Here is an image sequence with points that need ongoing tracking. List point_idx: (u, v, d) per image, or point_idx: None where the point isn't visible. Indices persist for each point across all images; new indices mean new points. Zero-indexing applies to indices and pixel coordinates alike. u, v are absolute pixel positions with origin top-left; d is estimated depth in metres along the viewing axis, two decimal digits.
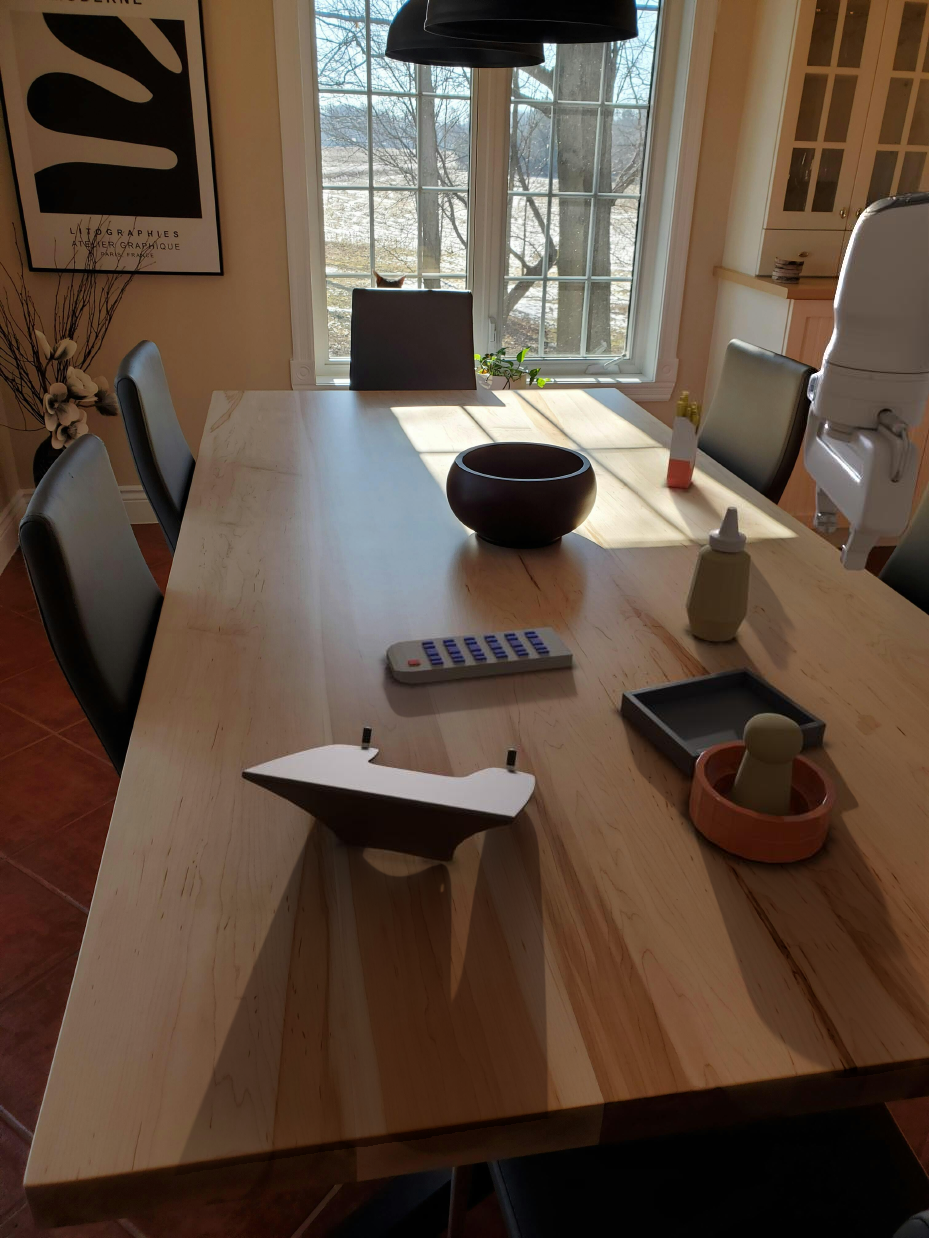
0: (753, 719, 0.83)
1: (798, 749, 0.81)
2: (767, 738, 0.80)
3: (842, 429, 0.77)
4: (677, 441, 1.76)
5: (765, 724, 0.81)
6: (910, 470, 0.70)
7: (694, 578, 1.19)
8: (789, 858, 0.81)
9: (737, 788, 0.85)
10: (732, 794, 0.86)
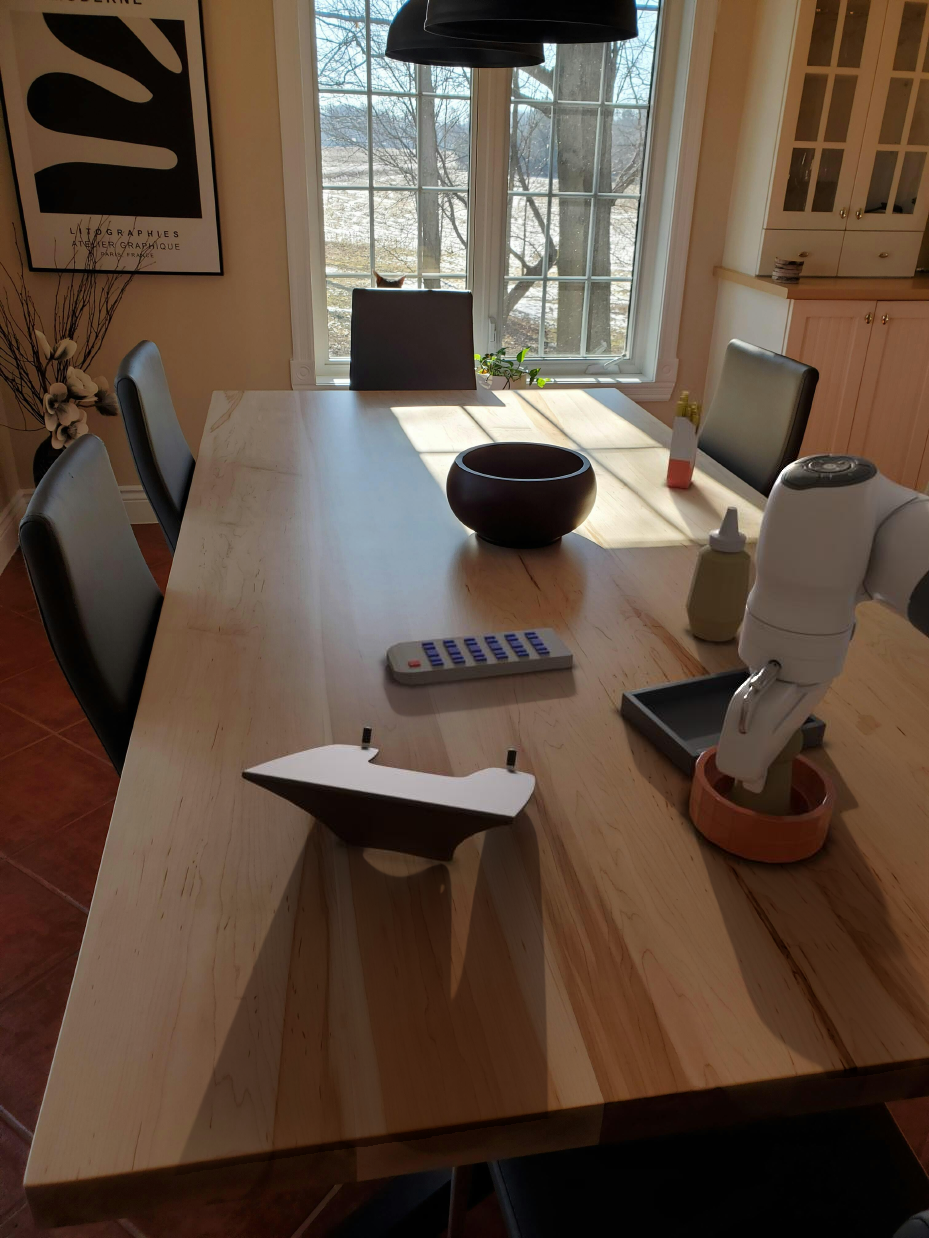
0: None
1: (798, 749, 0.81)
2: None
3: None
4: (677, 441, 1.76)
5: None
6: (757, 726, 0.72)
7: (694, 578, 1.19)
8: (789, 858, 0.81)
9: (737, 788, 0.85)
10: (732, 794, 0.86)
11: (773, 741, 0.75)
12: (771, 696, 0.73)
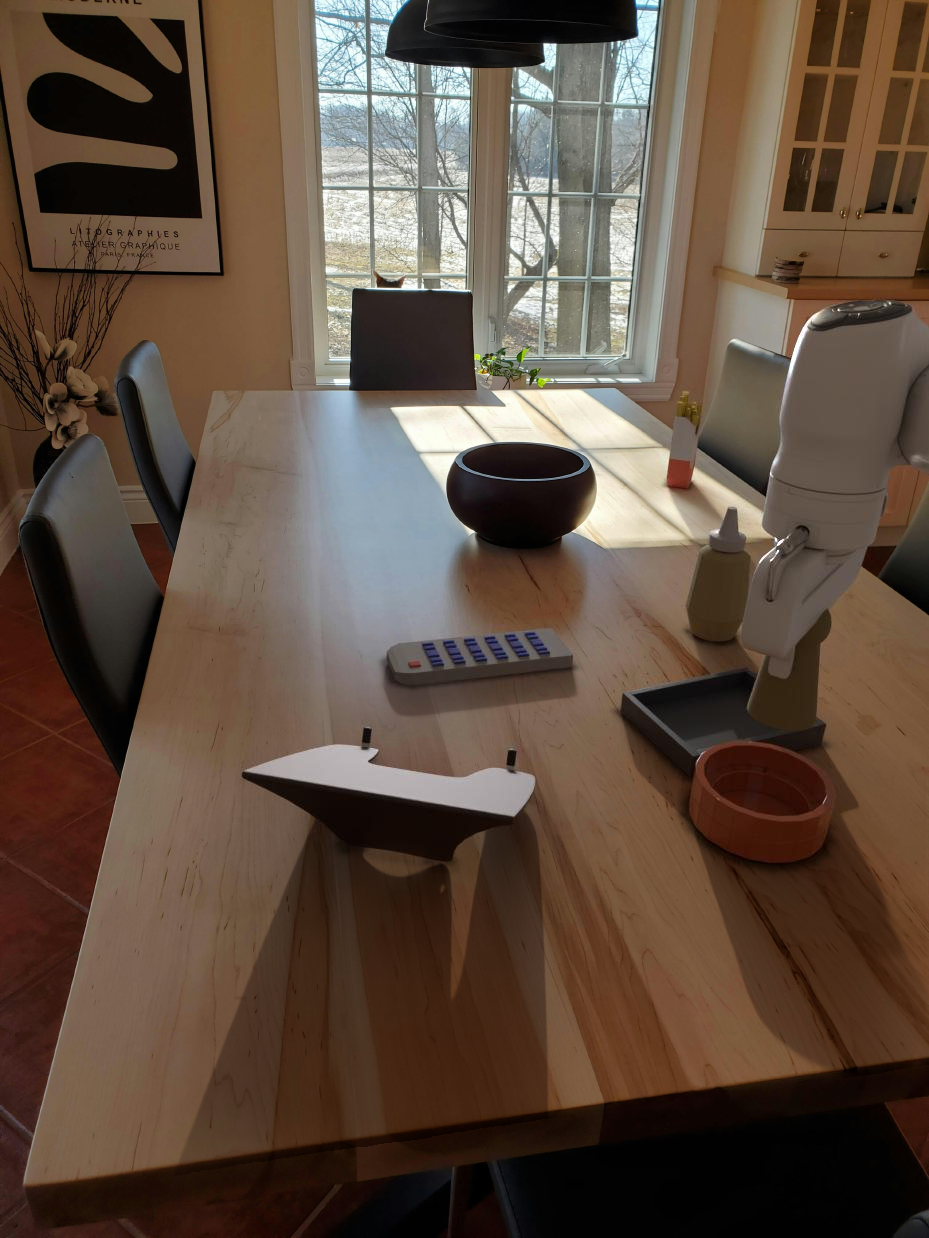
0: None
1: (827, 630, 0.76)
2: None
3: (778, 539, 0.74)
4: (677, 441, 1.76)
5: None
6: (785, 592, 0.67)
7: (694, 578, 1.19)
8: (789, 858, 0.81)
9: (761, 678, 0.80)
10: (756, 686, 0.80)
11: (802, 613, 0.70)
12: (799, 561, 0.68)
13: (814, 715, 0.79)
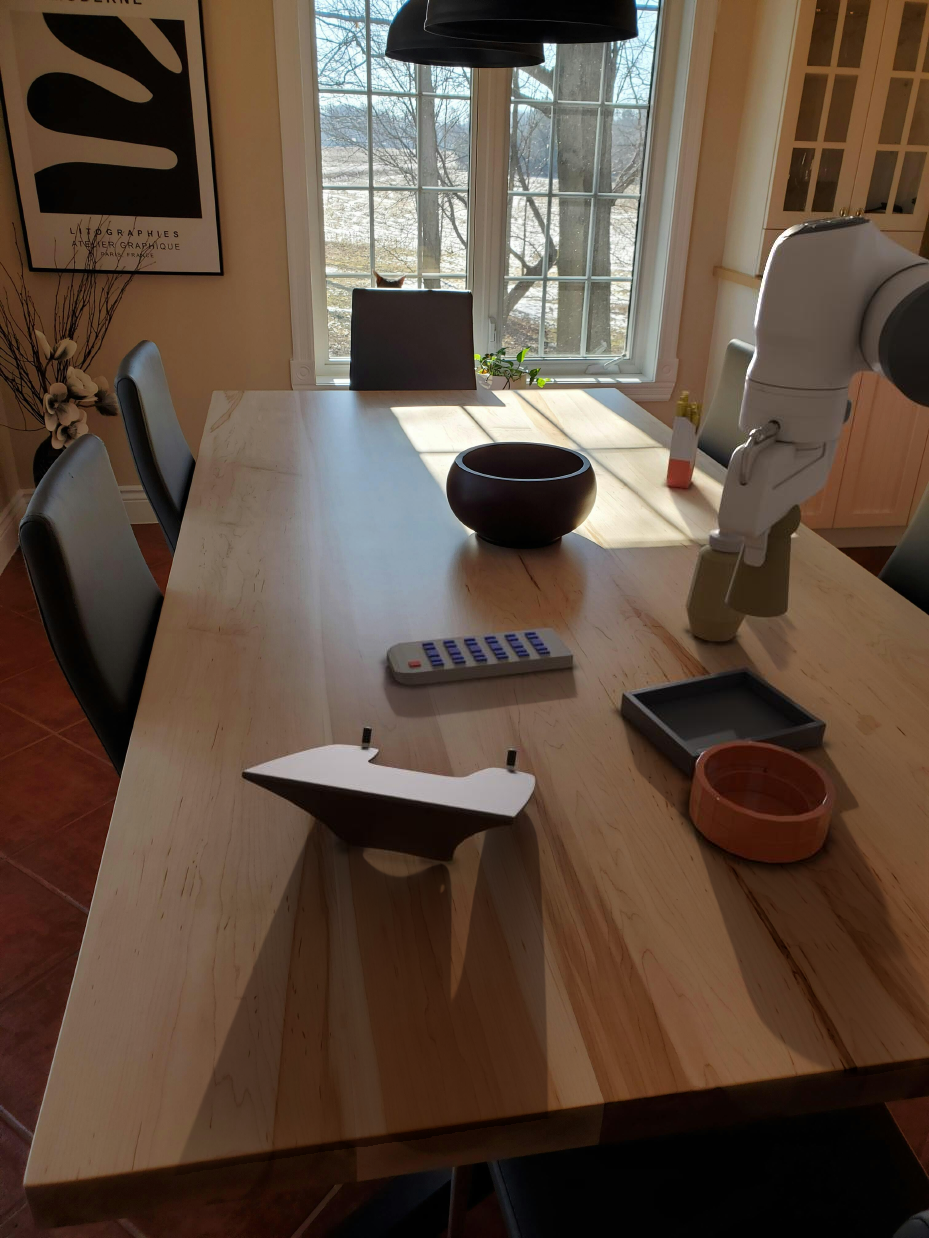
0: None
1: (796, 522, 0.84)
2: None
3: None
4: (677, 441, 1.76)
5: None
6: (757, 476, 0.75)
7: (694, 578, 1.19)
8: (789, 858, 0.81)
9: (737, 570, 0.88)
10: (733, 578, 0.89)
11: (773, 498, 0.78)
12: (770, 449, 0.76)
13: (785, 604, 0.88)
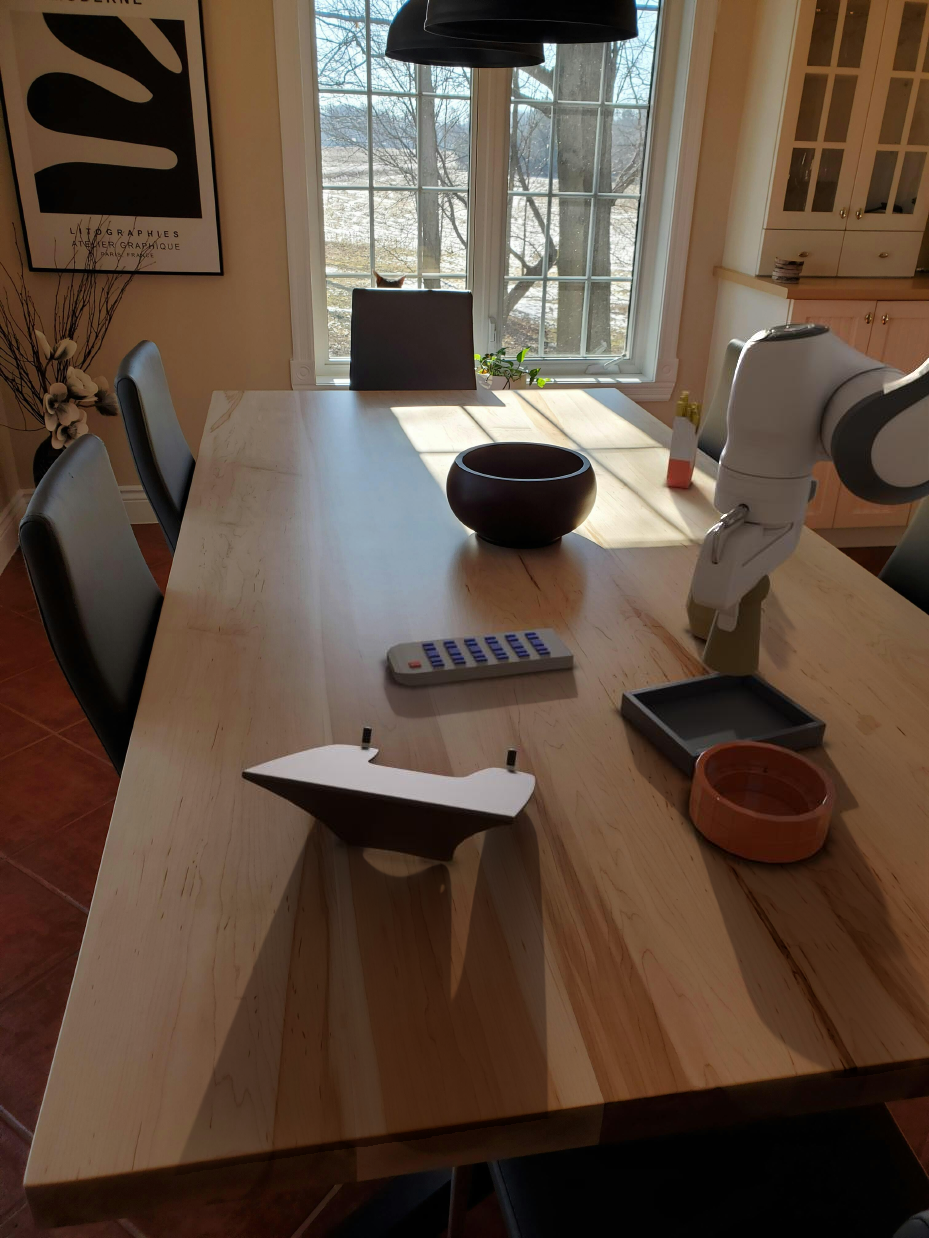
0: None
1: (765, 592, 0.92)
2: None
3: None
4: (677, 441, 1.76)
5: None
6: (727, 556, 0.84)
7: None
8: (789, 858, 0.81)
9: (712, 632, 0.96)
10: (708, 639, 0.97)
11: (742, 574, 0.86)
12: (739, 532, 0.85)
13: (756, 663, 0.96)
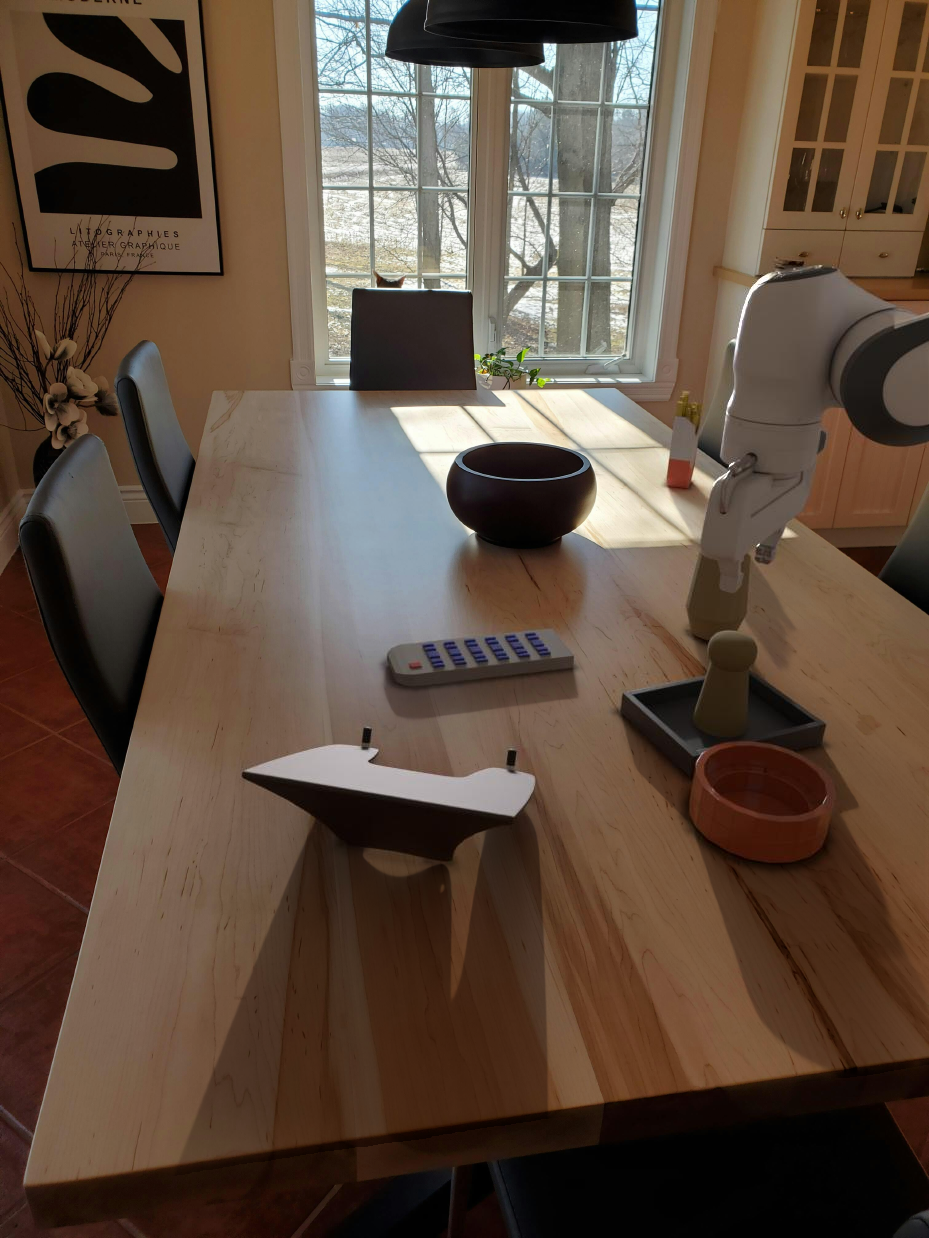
0: (715, 635, 0.98)
1: (753, 658, 0.96)
2: (727, 649, 0.95)
3: None
4: (677, 441, 1.76)
5: (725, 638, 0.96)
6: (736, 505, 0.82)
7: (694, 578, 1.19)
8: (789, 858, 0.81)
9: (702, 695, 0.99)
10: (698, 701, 1.00)
11: (751, 525, 0.84)
12: (748, 481, 0.82)
13: (744, 725, 0.99)
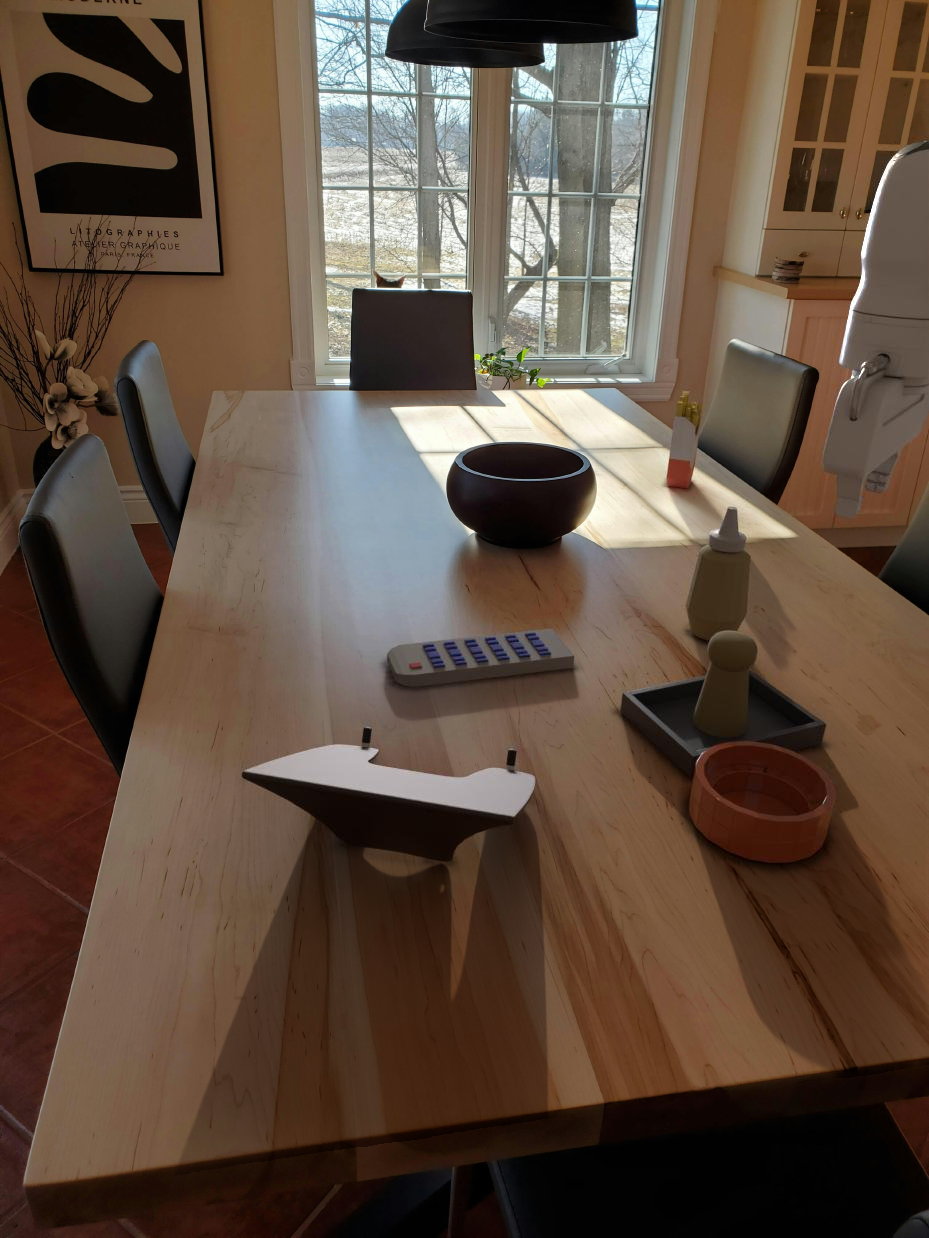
0: (715, 635, 0.98)
1: (753, 658, 0.96)
2: (727, 649, 0.95)
3: (855, 375, 0.78)
4: (677, 441, 1.76)
5: (725, 638, 0.96)
6: (869, 410, 0.71)
7: (694, 578, 1.19)
8: (789, 858, 0.81)
9: (702, 695, 0.99)
10: (699, 701, 1.00)
11: (881, 437, 0.74)
12: (882, 383, 0.72)
13: (744, 725, 0.99)
